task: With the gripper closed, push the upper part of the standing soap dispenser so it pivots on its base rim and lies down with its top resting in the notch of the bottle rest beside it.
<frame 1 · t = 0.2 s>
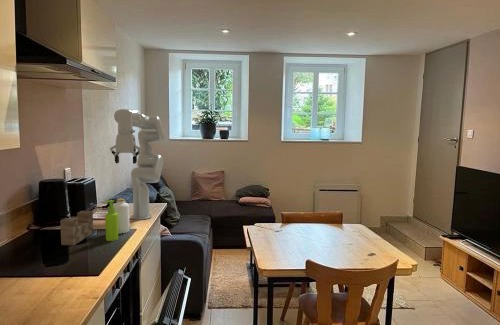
hand: (125, 163, 198), 37 cm above the counter, tool pointing down, fingers open, 9 cm apart
bottle rest: (78, 238, 182), on the counter
potion bottle: (121, 232, 194), on the counter
soap dispenser: (111, 239, 181), on the counter
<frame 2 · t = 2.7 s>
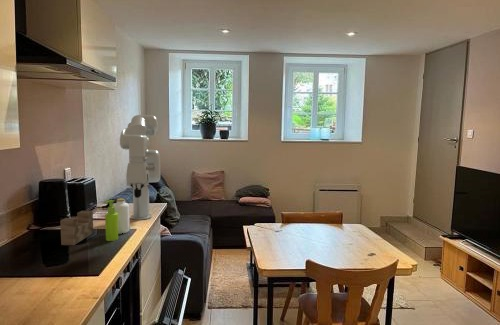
hand: (137, 197, 178), 22 cm above the counter, tool pointing down, fingers closed
nothing on the counter moved.
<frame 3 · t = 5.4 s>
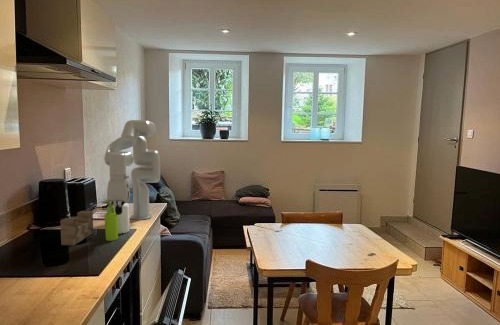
hand: (118, 214, 180), 13 cm above the counter, tool pointing down, fingers closed
nothing on the counter moved.
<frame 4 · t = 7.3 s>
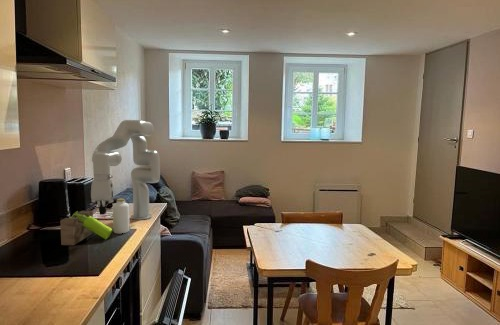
hand: (102, 213, 180), 13 cm above the counter, tool pointing down, fingers closed
soap dispenser: (108, 235, 181), point 2 cm above the counter, touching bottle rest
everything else where it was.
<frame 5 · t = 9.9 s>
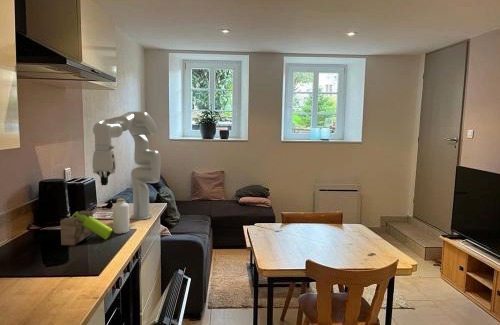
hand: (104, 184, 180), 28 cm above the counter, tool pointing down, fingers closed
nothing on the counter moved.
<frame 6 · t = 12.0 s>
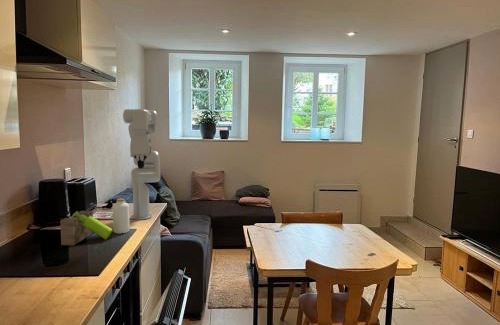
hand: (141, 168, 188), 35 cm above the counter, tool pointing down, fingers closed
nothing on the counter moved.
at the end: soap dispenser tilted 58°; soap dispenser touching bottle rest, counter; soap dispenser inside the target area (1.9 cm from its centre), point 2.2 cm above the counter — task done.
